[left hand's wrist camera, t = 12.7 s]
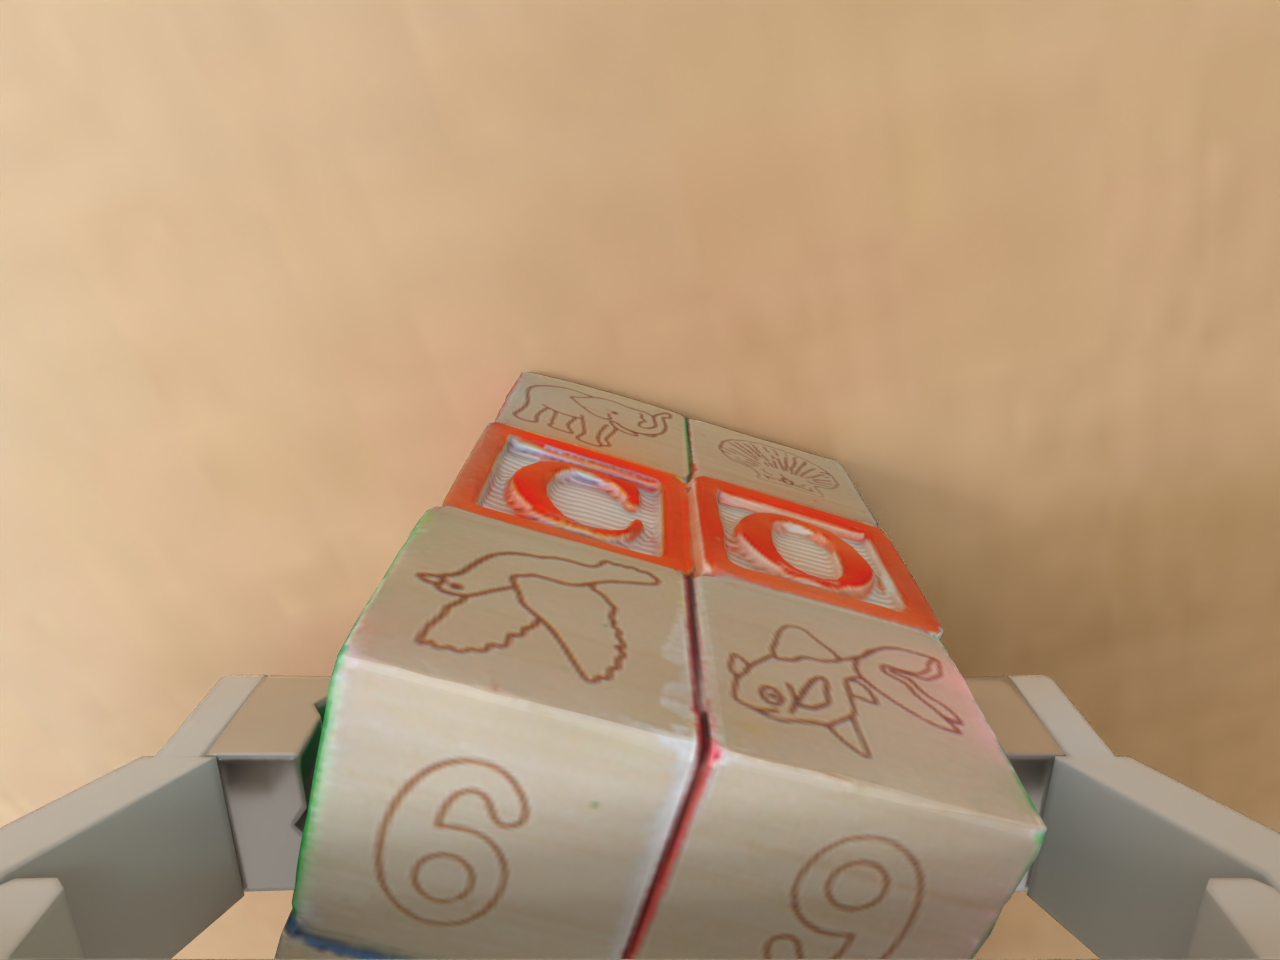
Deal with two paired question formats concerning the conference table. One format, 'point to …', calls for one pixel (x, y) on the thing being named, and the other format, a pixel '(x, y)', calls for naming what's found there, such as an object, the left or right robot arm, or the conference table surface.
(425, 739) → the stack of blocks
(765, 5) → the conference table surface
